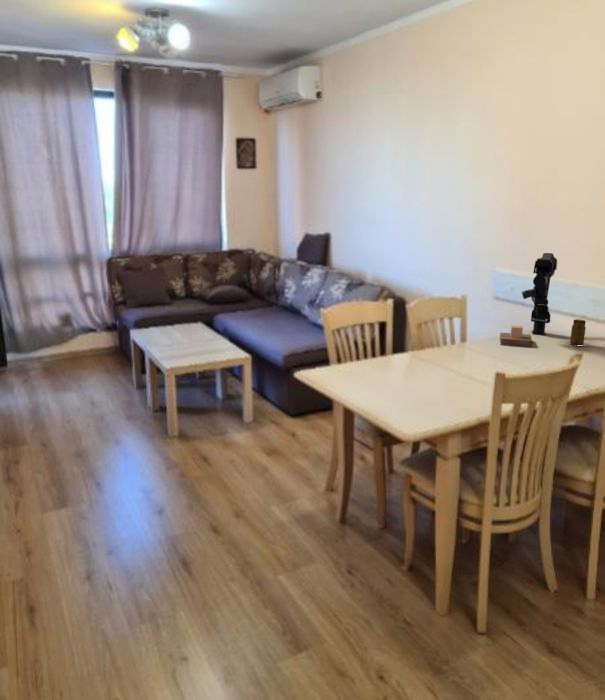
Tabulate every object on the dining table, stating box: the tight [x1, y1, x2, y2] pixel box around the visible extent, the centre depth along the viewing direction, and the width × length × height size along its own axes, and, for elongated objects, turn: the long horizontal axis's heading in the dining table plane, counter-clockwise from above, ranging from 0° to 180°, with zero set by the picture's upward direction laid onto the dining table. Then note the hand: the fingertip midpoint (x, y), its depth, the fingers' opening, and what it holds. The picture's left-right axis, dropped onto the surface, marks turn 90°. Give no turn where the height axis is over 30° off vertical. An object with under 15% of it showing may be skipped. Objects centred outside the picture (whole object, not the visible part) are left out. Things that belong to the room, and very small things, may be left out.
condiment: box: [569, 318, 587, 348], centre depth 290 cm, size 7×8×12 cm
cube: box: [510, 324, 524, 338], centre depth 293 cm, size 5×5×5 cm
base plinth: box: [499, 332, 533, 348], centre depth 294 cm, size 14×14×3 cm
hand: (537, 315), depth 298 cm, fingers open, 9 cm apart
